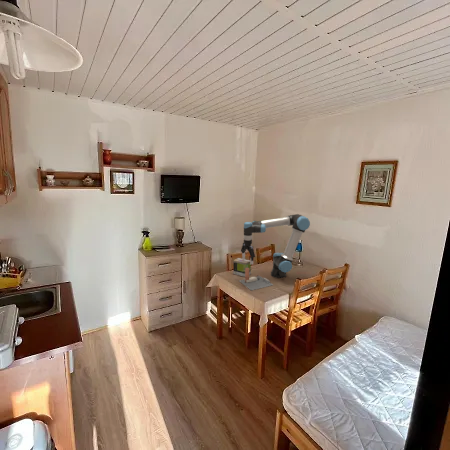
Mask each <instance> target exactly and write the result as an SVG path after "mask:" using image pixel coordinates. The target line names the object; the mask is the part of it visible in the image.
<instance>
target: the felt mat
mask: <svg viewBox="0 0 450 450" xmlns="http://www.w3.org/2000/svg"><path fill="white" fill-rule="evenodd" d="M258 276H259V280H257V281H252V282H248V283H247V282H245V278H244V279H240V280H238V282H240V283H241V284H242V285H243V286H245V288H247V289H248V290H250V291H251V292H252V291H256V290H259V289H264V288H268V287H272V286H274V284H273V283H271V282H270V283H269V284H267V283H266V282H264V281H263V278H264V277H262V276H260V275H258ZM255 277H256V278H257V276H255Z"/></svg>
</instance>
